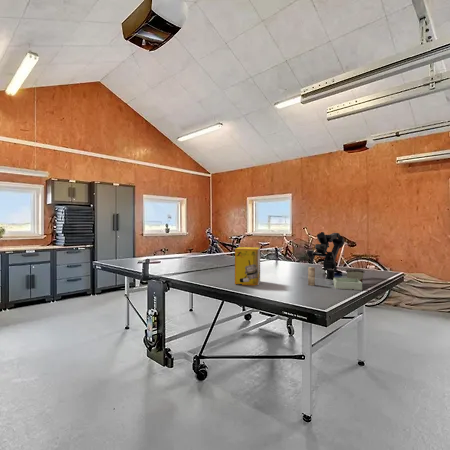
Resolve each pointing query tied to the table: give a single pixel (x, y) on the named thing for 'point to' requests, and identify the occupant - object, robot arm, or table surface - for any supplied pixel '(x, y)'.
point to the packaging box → (247, 266)
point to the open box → (347, 283)
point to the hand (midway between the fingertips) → (317, 263)
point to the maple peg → (311, 276)
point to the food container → (355, 274)
